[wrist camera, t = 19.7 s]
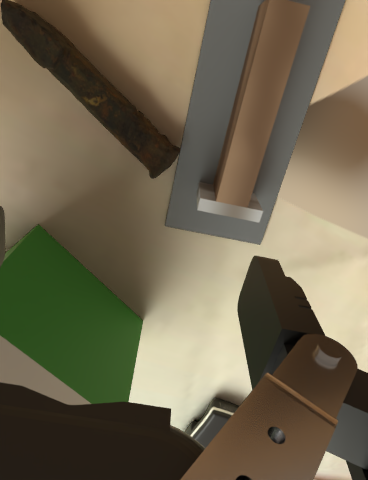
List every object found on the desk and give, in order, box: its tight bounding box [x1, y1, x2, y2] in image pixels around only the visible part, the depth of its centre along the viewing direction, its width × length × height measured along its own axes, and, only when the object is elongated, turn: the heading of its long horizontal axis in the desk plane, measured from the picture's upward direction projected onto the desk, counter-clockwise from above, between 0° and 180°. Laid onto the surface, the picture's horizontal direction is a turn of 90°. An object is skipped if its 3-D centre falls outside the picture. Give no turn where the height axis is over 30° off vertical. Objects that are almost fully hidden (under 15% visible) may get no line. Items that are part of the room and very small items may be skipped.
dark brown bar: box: [1, 0, 180, 179], centre depth 31 cm, size 19×4×5 cm, turn 42°
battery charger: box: [185, 399, 239, 448], centre depth 53 cm, size 7×4×11 cm
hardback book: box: [0, 224, 143, 405], centre depth 33 cm, size 18×7×24 cm, turn 39°
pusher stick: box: [196, 0, 310, 222], centre depth 31 cm, size 6×17×5 cm, turn 168°
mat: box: [165, 0, 345, 245], centre depth 34 cm, size 11×25×1 cm, turn 168°
